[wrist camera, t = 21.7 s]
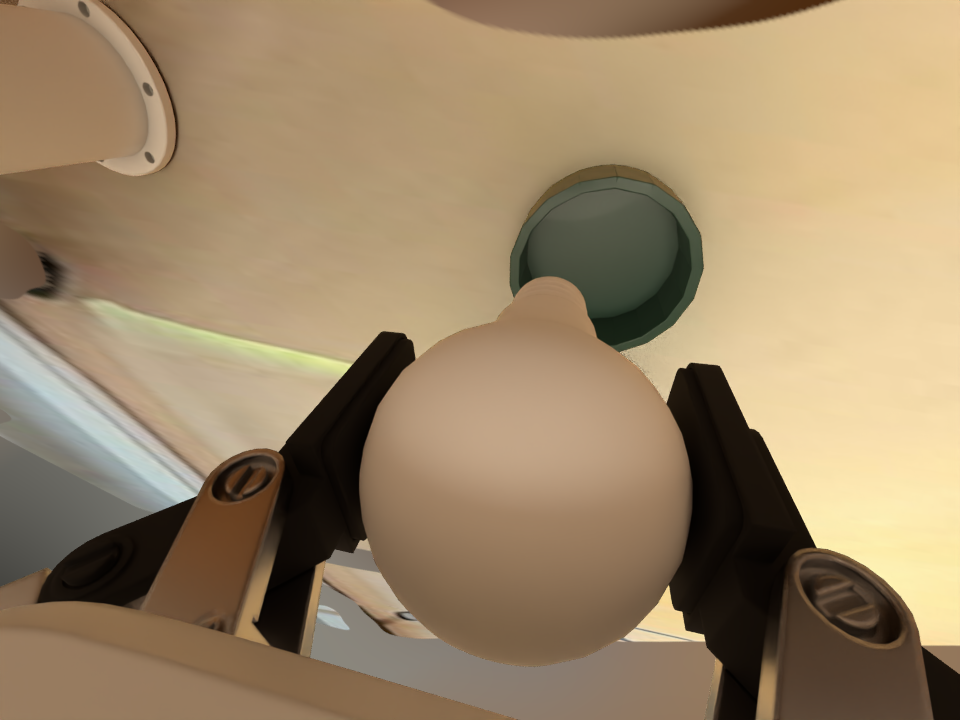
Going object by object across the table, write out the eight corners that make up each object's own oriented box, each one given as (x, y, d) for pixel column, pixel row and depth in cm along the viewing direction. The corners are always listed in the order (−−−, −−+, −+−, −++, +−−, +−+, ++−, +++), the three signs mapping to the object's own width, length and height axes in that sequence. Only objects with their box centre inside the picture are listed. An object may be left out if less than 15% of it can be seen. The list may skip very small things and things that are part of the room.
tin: (516, 316, 35) (507, 345, 31) (523, 161, 28) (512, 173, 24) (662, 330, 33) (673, 363, 29) (710, 165, 26) (733, 179, 22)
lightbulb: (679, 254, 12) (905, 669, 3) (590, 390, 16) (591, 759, 7) (498, 184, 12) (274, 420, 4) (452, 335, 16) (283, 636, 7)
